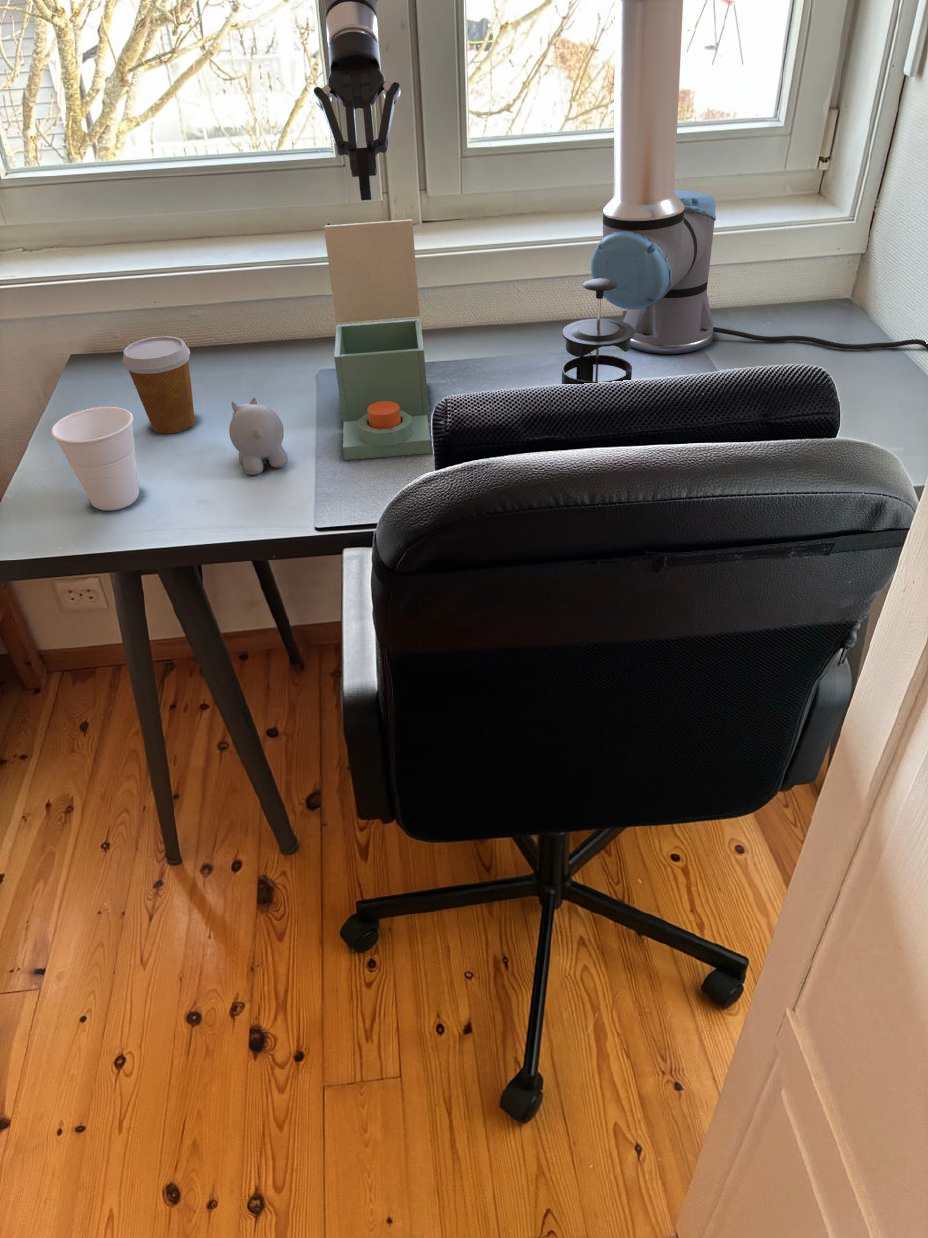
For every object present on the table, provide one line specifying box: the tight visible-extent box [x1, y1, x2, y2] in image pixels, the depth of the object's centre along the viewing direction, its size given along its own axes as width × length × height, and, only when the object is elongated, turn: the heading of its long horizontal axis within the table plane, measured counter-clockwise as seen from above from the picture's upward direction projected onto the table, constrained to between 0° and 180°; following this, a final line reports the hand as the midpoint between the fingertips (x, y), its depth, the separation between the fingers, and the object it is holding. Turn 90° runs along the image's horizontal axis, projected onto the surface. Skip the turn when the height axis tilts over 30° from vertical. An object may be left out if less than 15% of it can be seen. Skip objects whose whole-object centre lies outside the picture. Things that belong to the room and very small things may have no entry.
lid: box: [323, 219, 421, 323], centre depth 138 cm, size 14×13×1 cm
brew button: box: [367, 401, 401, 429], centre depth 129 cm, size 4×4×2 cm
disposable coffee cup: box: [121, 335, 196, 434], centre depth 138 cm, size 10×10×12 cm
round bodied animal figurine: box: [228, 397, 289, 476], centre depth 129 cm, size 7×12×8 cm, turn 23°
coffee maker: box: [333, 318, 430, 426], centre depth 140 cm, size 13×13×11 cm
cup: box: [50, 406, 140, 512], centre depth 121 cm, size 10×10×11 cm
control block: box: [342, 411, 432, 461], centre depth 132 cm, size 12×9×4 cm
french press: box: [561, 278, 634, 385], centre depth 122 cm, size 12×9×23 cm
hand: (365, 194), depth 137 cm, fingers closed
